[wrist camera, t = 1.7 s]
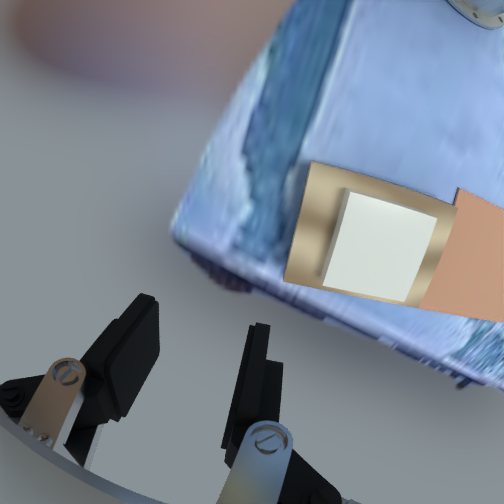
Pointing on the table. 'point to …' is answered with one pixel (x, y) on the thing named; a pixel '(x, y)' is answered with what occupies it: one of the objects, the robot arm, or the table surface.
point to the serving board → (325, 218)
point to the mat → (471, 263)
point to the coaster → (376, 246)
